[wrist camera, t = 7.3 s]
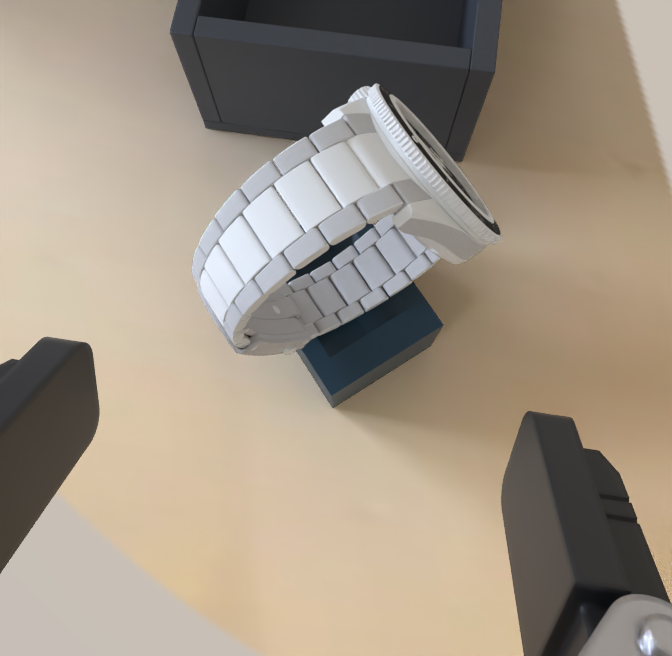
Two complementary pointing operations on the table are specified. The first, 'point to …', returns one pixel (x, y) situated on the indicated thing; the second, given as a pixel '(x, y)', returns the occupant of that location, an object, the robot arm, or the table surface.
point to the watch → (342, 245)
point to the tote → (337, 61)
